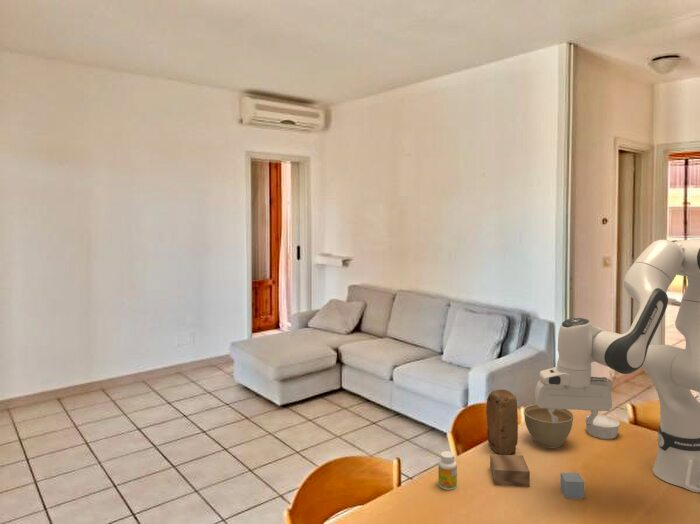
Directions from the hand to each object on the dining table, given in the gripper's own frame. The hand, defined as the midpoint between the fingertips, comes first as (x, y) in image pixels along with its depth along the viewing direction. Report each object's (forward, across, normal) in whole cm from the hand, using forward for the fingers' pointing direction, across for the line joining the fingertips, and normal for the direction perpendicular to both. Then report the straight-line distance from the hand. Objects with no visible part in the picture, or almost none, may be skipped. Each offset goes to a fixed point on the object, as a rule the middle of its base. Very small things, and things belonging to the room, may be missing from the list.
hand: (571, 423), depth 146 cm
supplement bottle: (+21, +34, -1) cm, 41 cm away
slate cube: (+21, -1, 0) cm, 21 cm away
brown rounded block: (+21, +15, -26) cm, 37 cm away
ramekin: (+20, -22, -41) cm, 51 cm away
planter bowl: (+20, -2, -33) cm, 39 cm away
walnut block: (+21, +16, -7) cm, 27 cm away
